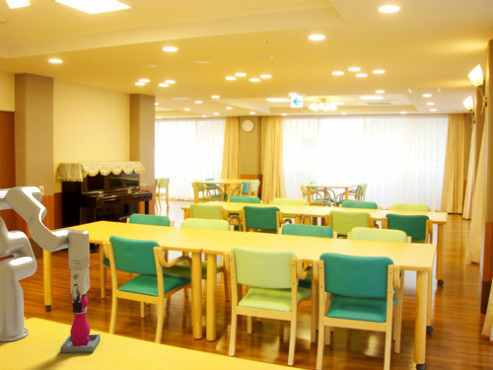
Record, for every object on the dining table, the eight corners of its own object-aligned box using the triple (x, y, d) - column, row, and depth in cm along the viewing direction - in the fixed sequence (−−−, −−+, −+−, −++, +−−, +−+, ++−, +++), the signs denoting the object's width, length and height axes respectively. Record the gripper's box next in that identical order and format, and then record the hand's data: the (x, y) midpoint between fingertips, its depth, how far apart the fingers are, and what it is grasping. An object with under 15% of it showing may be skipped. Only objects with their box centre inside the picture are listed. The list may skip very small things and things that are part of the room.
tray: (60, 353, 175) (60, 347, 175) (69, 341, 187) (69, 335, 187) (93, 352, 176) (92, 346, 176) (100, 340, 188) (100, 334, 188)
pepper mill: (81, 337, 186) (81, 287, 185) (94, 341, 183) (93, 290, 181) (66, 343, 180) (65, 292, 179) (79, 348, 176) (78, 295, 175)
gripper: (83, 268, 171) (84, 317, 172) (94, 258, 188) (95, 302, 189) (62, 268, 170) (62, 317, 172) (75, 258, 188) (76, 302, 189)
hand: (79, 309), depth 181 cm, fingers open, 6 cm apart
